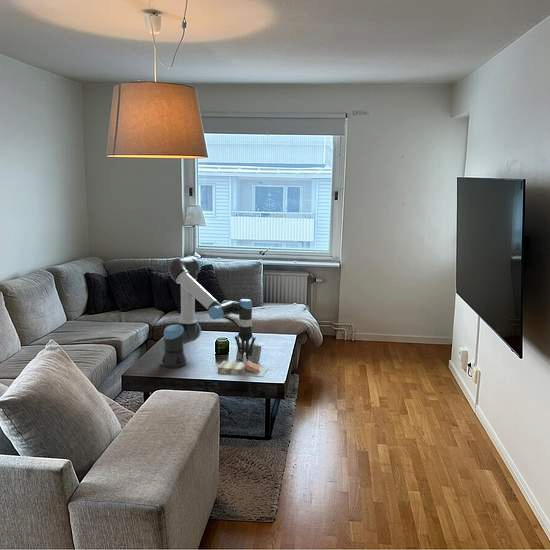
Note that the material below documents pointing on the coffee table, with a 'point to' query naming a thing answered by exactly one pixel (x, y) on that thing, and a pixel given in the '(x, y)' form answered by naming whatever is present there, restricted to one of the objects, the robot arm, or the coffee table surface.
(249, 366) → the terracotta tile
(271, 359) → the coffee table surface
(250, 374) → the sage mat
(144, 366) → the coffee table surface
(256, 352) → the digital clock
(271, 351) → the coffee table surface
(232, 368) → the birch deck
